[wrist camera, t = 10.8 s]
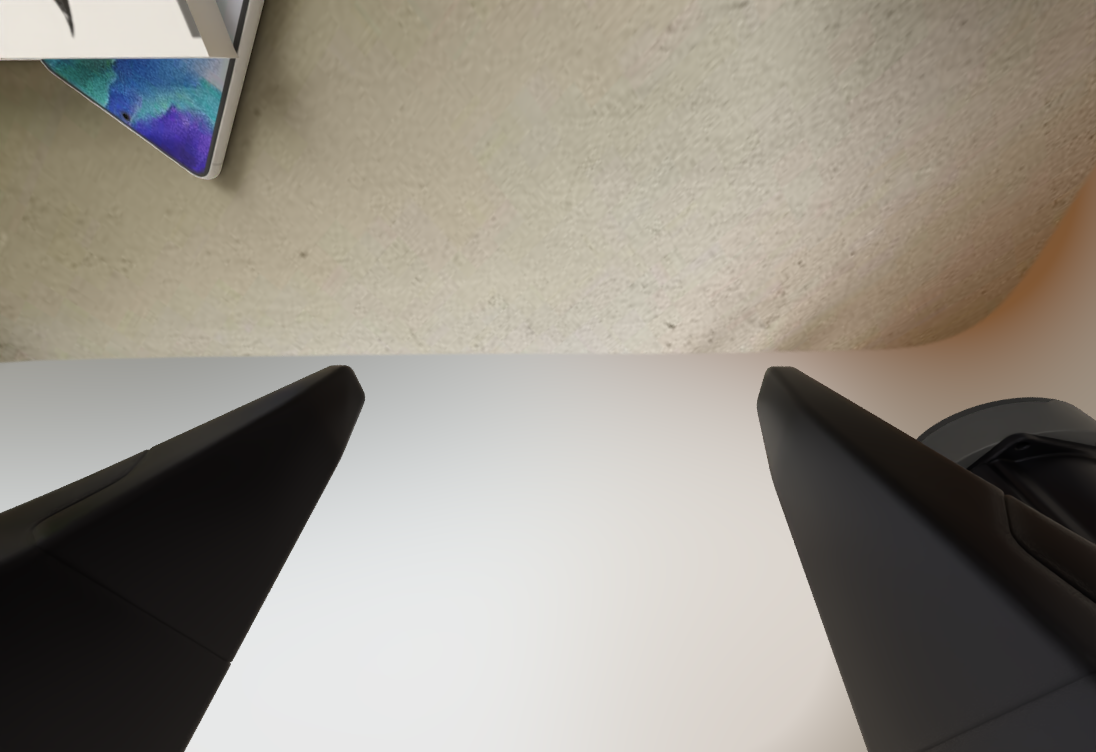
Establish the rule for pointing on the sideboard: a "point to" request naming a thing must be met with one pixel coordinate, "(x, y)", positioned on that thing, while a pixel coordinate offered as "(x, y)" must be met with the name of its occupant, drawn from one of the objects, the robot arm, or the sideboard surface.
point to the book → (112, 29)
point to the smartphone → (174, 93)
